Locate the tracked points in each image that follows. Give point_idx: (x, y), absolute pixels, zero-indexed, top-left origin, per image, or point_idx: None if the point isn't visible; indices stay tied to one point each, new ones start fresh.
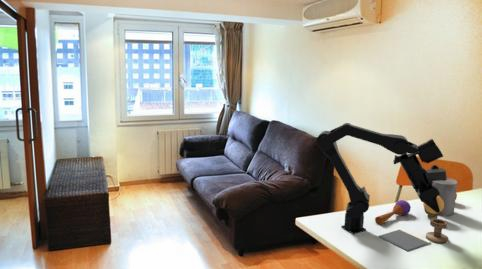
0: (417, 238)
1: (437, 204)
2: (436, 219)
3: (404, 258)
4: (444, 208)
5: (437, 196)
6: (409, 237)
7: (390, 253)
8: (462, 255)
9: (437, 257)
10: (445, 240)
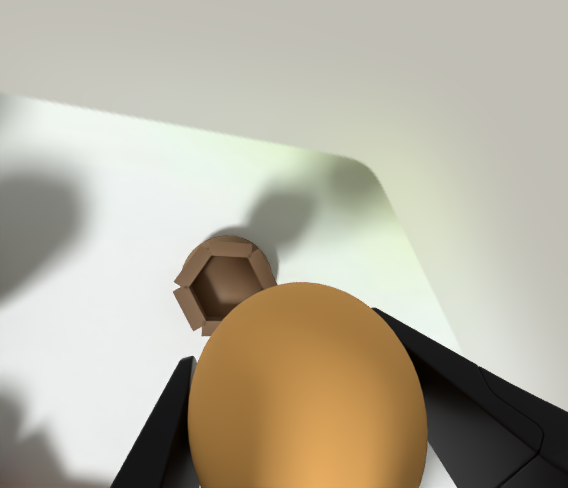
0: None
1: (461, 359)
2: (197, 303)
3: None
4: None
5: (374, 424)
6: None
7: None
8: (330, 196)
9: (381, 273)
10: (257, 247)
